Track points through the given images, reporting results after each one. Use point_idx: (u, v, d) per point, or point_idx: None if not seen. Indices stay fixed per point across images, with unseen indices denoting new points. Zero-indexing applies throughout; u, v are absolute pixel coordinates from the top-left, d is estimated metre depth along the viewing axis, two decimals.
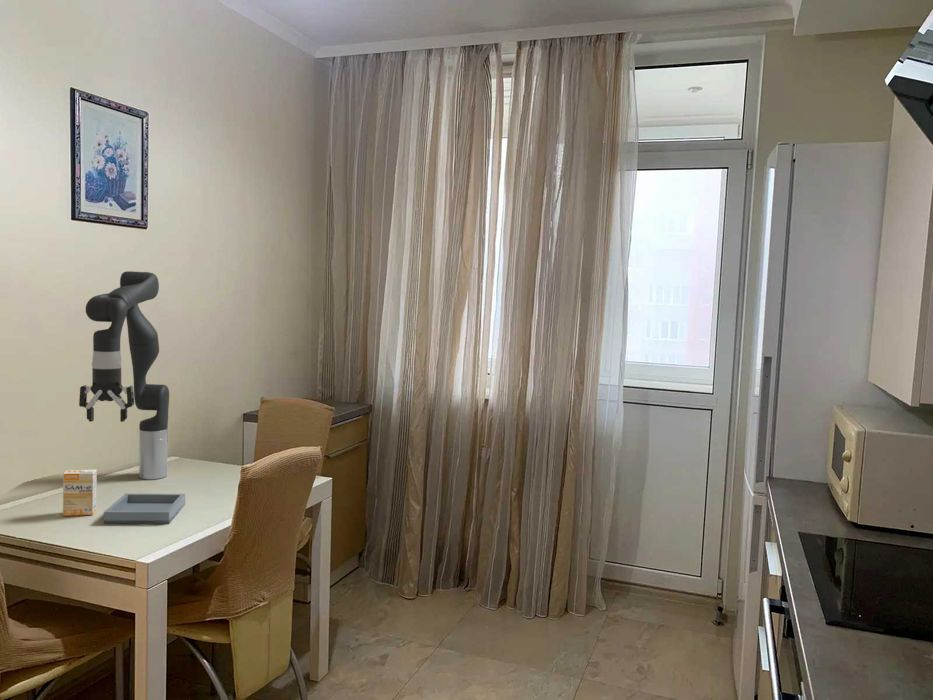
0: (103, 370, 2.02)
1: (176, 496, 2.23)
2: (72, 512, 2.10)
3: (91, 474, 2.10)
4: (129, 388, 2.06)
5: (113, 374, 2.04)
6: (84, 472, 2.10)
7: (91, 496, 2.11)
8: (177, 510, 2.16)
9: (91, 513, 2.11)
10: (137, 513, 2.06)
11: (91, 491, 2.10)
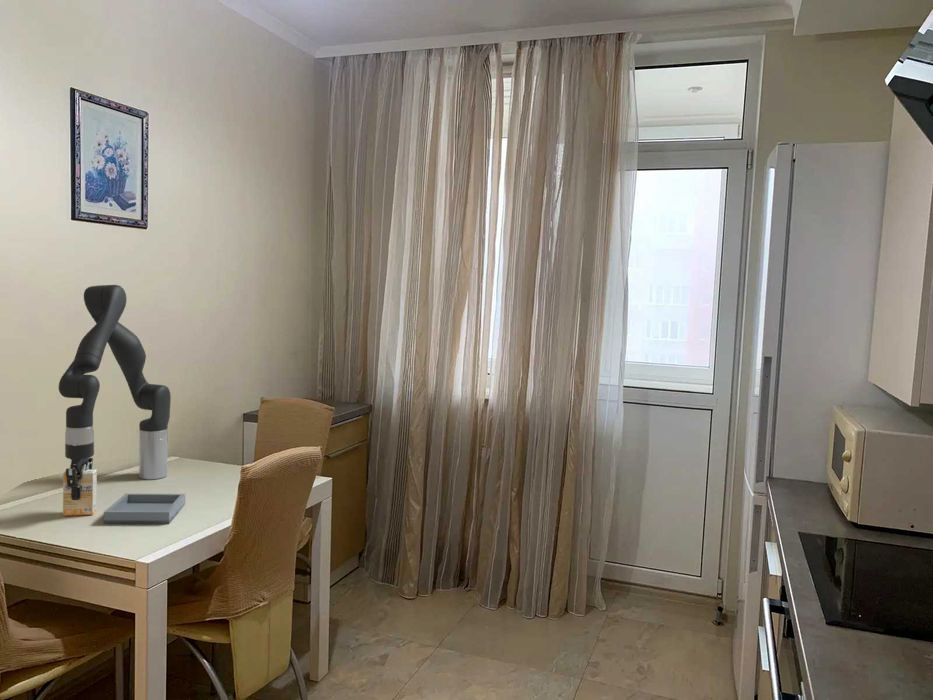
0: (93, 443, 2.11)
1: (176, 496, 2.23)
2: (72, 512, 2.10)
3: (91, 474, 2.10)
4: (92, 459, 2.17)
5: None
6: (84, 472, 2.10)
7: (91, 496, 2.11)
8: (177, 510, 2.16)
9: (91, 513, 2.11)
10: (137, 513, 2.06)
11: (91, 491, 2.10)
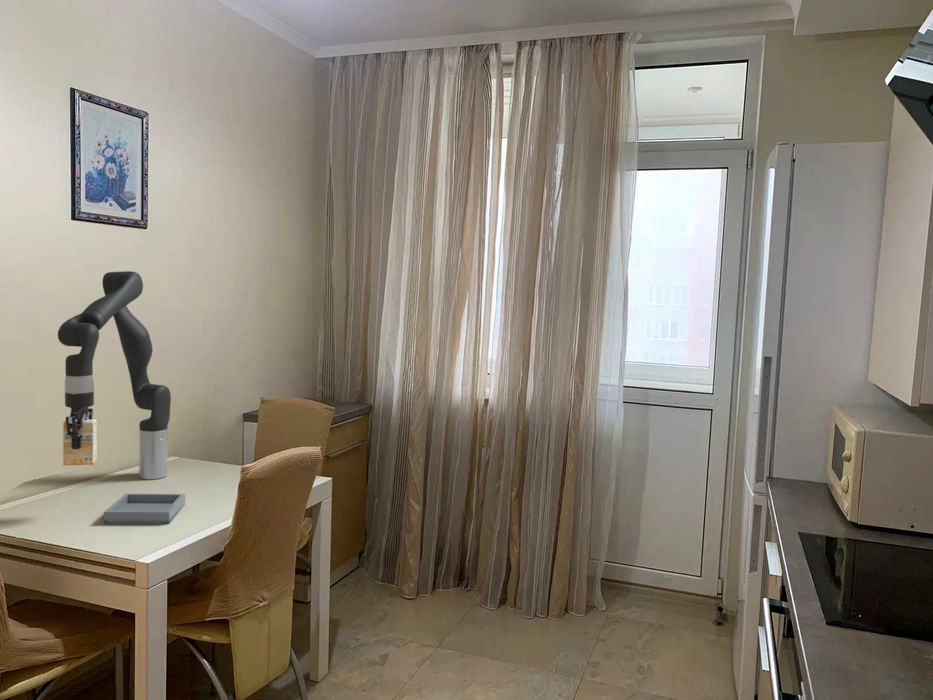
0: (93, 392, 2.10)
1: (176, 496, 2.23)
2: (73, 461, 2.08)
3: (91, 423, 2.09)
4: (92, 409, 2.16)
5: None
6: (84, 421, 2.09)
7: (91, 445, 2.09)
8: (177, 510, 2.16)
9: (91, 463, 2.10)
10: (137, 513, 2.06)
11: (91, 440, 2.09)
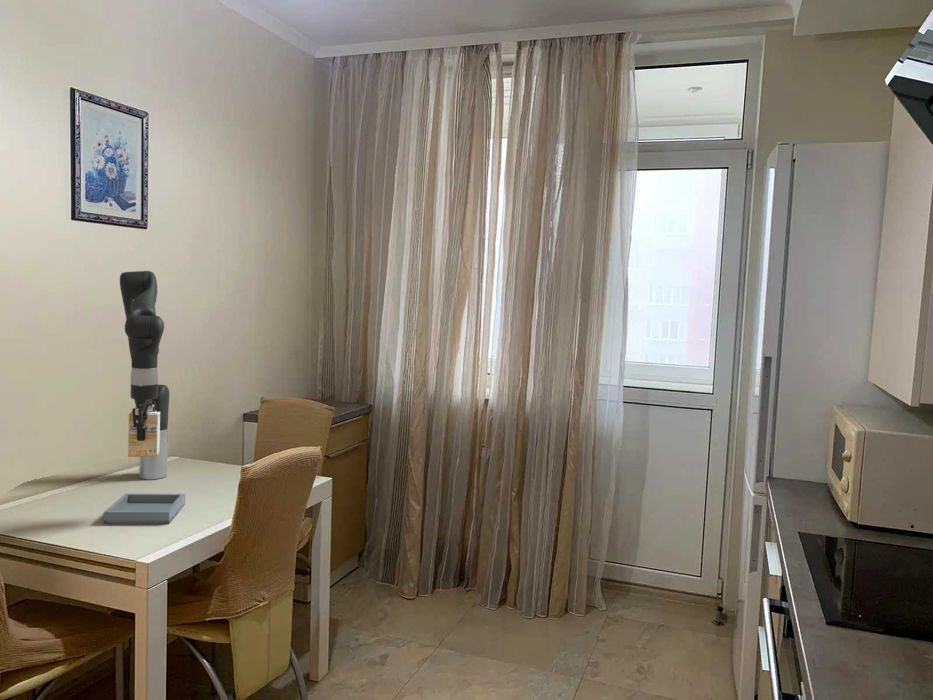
0: (157, 385, 2.12)
1: (176, 496, 2.23)
2: (137, 453, 2.10)
3: (156, 415, 2.11)
4: None
5: None
6: (149, 413, 2.11)
7: (155, 437, 2.11)
8: (177, 510, 2.16)
9: (155, 454, 2.12)
10: (137, 513, 2.06)
11: (156, 432, 2.11)
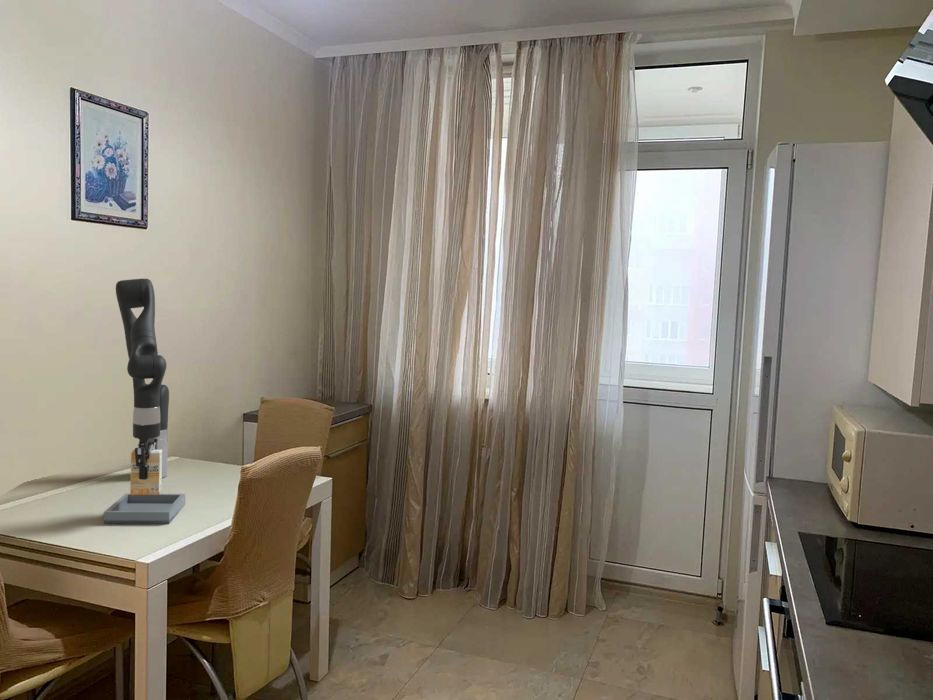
0: (159, 423, 2.13)
1: (176, 496, 2.23)
2: (139, 491, 2.12)
3: (158, 454, 2.12)
4: None
5: None
6: (151, 452, 2.12)
7: (158, 476, 2.13)
8: (177, 510, 2.16)
9: (157, 492, 2.13)
10: (137, 513, 2.06)
11: (158, 471, 2.12)
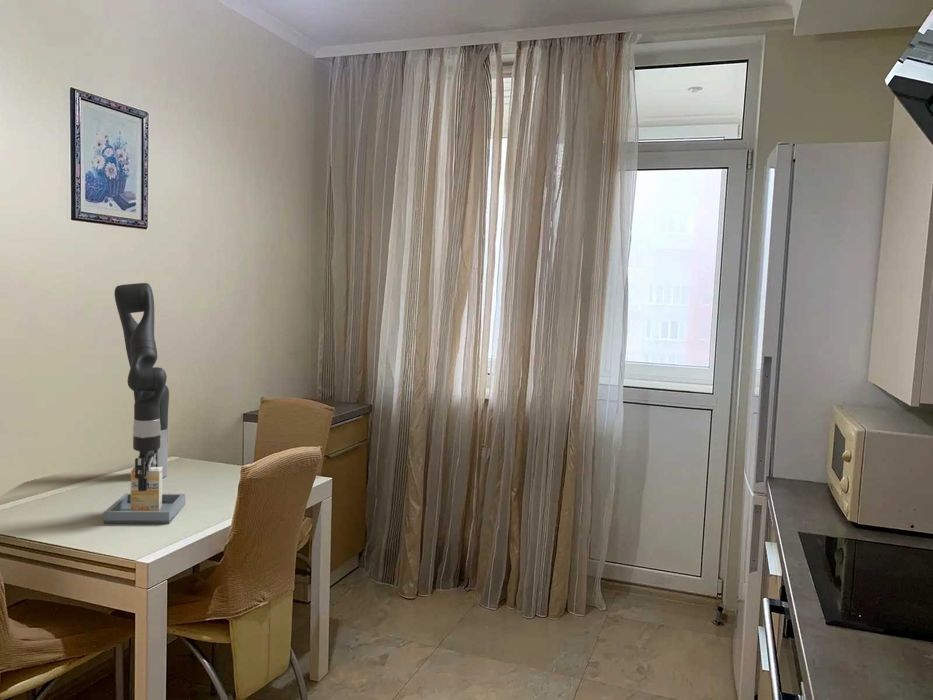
0: (160, 435, 2.13)
1: (176, 496, 2.23)
2: (139, 509, 2.12)
3: (158, 471, 2.12)
4: None
5: None
6: (151, 469, 2.12)
7: (157, 493, 2.13)
8: (177, 510, 2.16)
9: (157, 510, 2.13)
10: (137, 513, 2.06)
11: (157, 488, 2.13)
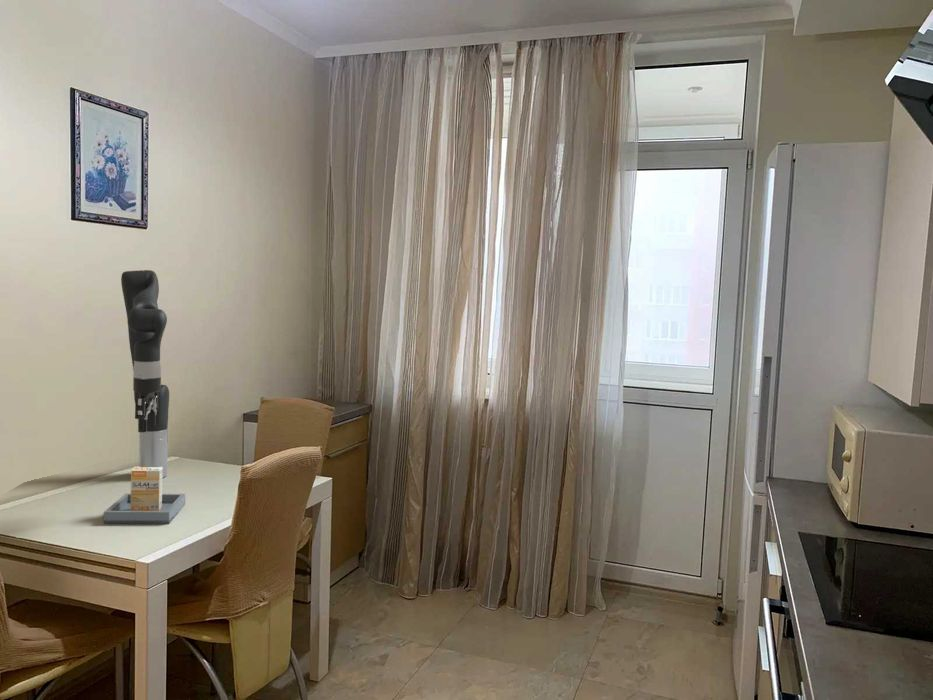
0: (160, 378, 2.12)
1: (176, 496, 2.23)
2: (140, 509, 2.12)
3: (158, 471, 2.12)
4: (157, 392, 2.18)
5: None
6: (151, 469, 2.13)
7: (158, 493, 2.13)
8: (177, 510, 2.16)
9: (157, 510, 2.13)
10: (137, 513, 2.06)
11: (158, 488, 2.13)
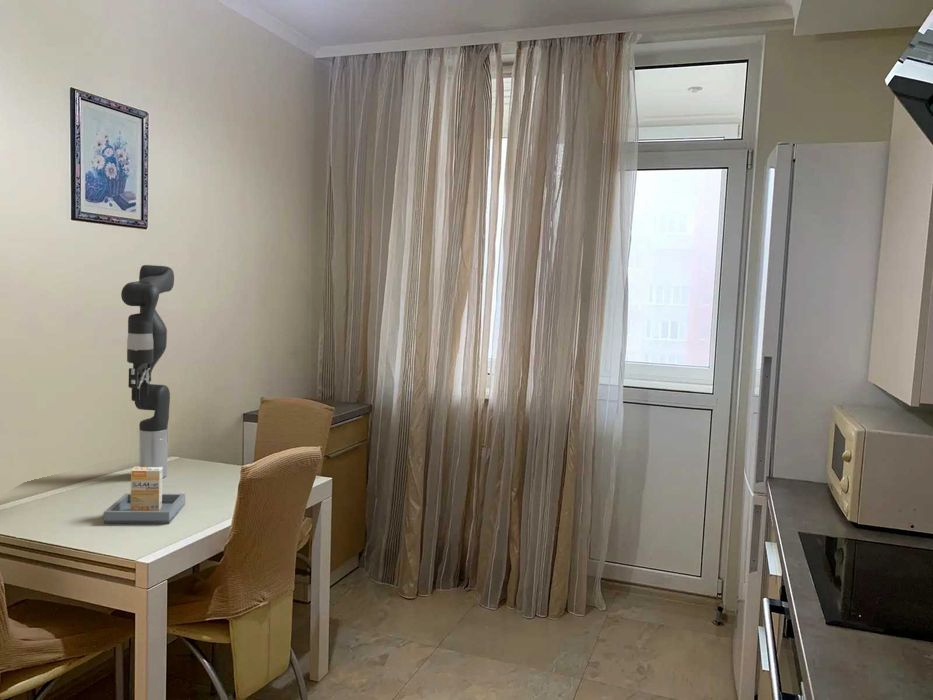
0: (153, 350, 2.23)
1: (176, 496, 2.23)
2: (140, 509, 2.12)
3: (158, 471, 2.12)
4: (150, 364, 2.29)
5: None
6: (151, 469, 2.13)
7: (158, 493, 2.13)
8: (177, 510, 2.16)
9: (157, 510, 2.13)
10: (137, 513, 2.06)
11: (158, 488, 2.13)
